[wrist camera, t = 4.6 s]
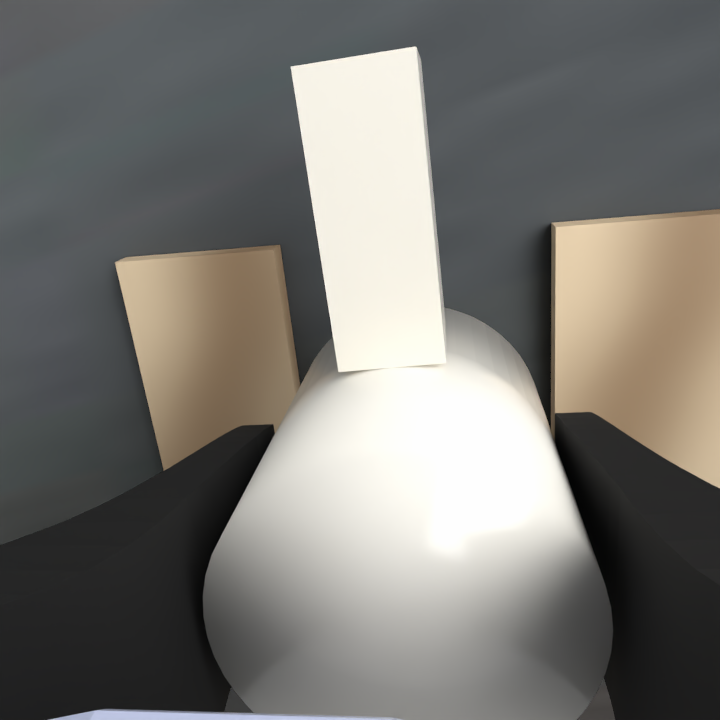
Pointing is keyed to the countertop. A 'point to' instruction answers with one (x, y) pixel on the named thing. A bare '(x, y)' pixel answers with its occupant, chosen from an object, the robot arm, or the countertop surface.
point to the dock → (568, 335)
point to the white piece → (403, 470)
